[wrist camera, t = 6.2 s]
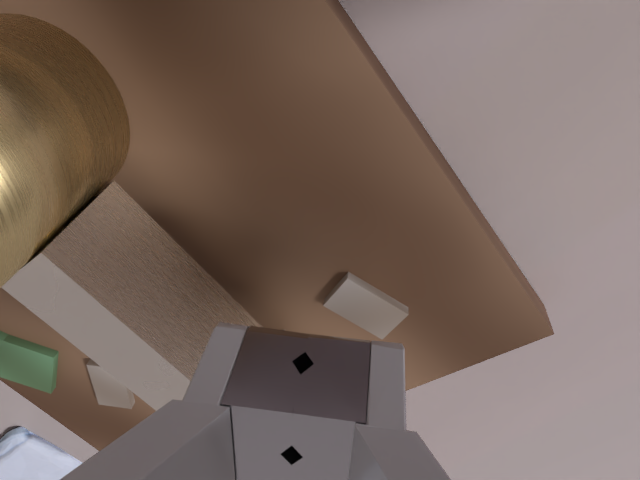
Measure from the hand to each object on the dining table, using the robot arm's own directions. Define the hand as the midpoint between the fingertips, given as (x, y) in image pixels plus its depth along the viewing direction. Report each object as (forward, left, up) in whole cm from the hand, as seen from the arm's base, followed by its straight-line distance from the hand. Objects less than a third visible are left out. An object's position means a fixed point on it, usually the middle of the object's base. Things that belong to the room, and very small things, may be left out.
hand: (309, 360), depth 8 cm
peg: (+4, -3, -5) cm, 7 cm away
